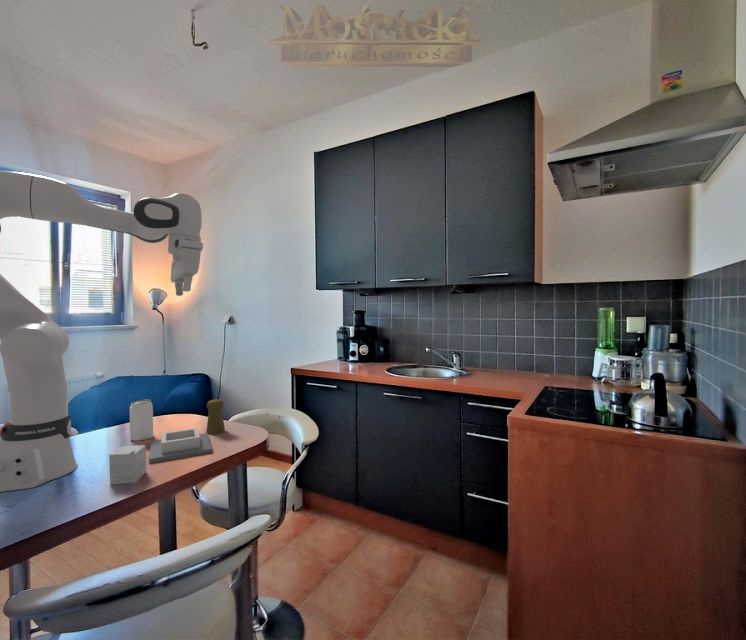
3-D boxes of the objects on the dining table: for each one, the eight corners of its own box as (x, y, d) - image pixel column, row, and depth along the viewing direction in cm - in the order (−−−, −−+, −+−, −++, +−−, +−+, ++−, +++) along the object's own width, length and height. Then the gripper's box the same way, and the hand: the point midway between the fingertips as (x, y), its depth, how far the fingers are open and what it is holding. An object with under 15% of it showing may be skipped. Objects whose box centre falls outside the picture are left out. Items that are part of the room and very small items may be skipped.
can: (128, 437, 125) (127, 401, 124) (150, 433, 129) (150, 398, 129) (132, 442, 120) (131, 405, 120) (155, 438, 124) (154, 401, 124)
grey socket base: (148, 463, 104) (148, 448, 104) (151, 444, 118) (151, 431, 118) (211, 452, 112) (211, 438, 111) (207, 436, 126) (207, 423, 125)
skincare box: (121, 474, 97) (120, 445, 97) (147, 472, 99) (146, 444, 98) (109, 485, 91) (108, 454, 91) (136, 482, 93) (136, 453, 92)
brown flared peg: (228, 429, 133) (227, 398, 133) (219, 434, 127) (219, 402, 127) (211, 428, 134) (211, 397, 133) (202, 434, 128) (201, 401, 127)
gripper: (166, 254, 121) (164, 296, 120) (180, 238, 105) (178, 287, 104) (187, 257, 125) (186, 298, 124) (204, 242, 109) (203, 289, 108)
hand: (182, 293), depth 114 cm, fingers open, 8 cm apart
